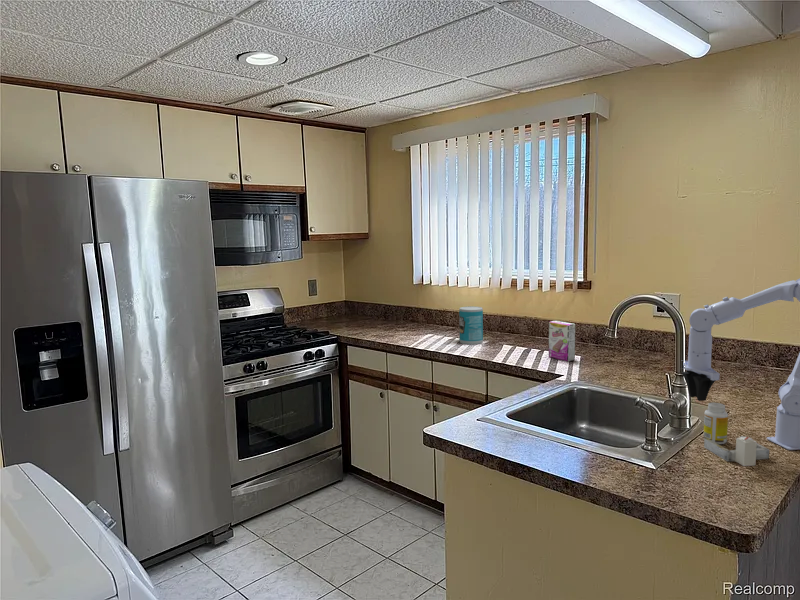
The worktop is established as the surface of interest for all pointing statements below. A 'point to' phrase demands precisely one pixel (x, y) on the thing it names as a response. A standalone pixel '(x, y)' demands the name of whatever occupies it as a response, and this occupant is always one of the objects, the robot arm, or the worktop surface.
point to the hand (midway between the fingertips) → (697, 398)
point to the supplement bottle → (716, 423)
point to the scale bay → (733, 451)
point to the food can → (471, 325)
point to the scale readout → (745, 451)
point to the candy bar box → (562, 340)
